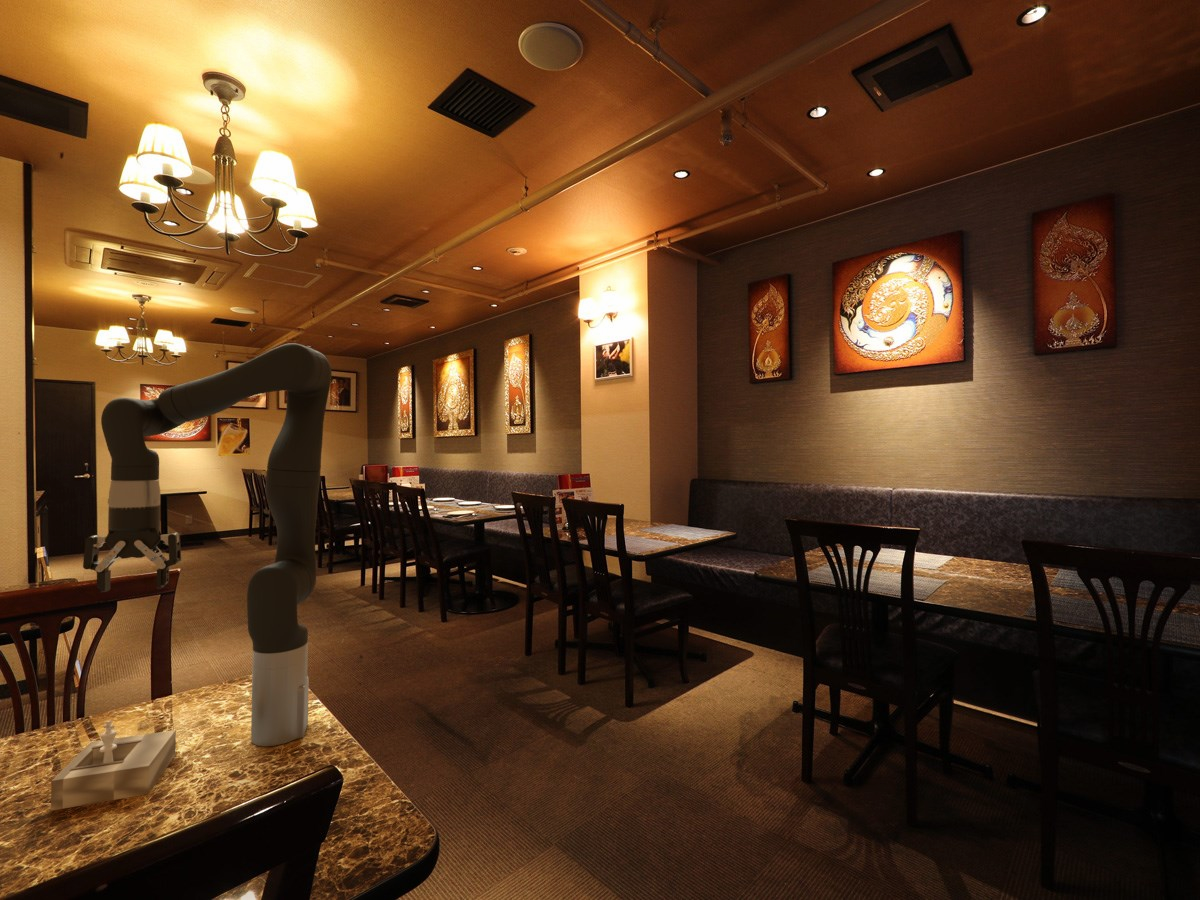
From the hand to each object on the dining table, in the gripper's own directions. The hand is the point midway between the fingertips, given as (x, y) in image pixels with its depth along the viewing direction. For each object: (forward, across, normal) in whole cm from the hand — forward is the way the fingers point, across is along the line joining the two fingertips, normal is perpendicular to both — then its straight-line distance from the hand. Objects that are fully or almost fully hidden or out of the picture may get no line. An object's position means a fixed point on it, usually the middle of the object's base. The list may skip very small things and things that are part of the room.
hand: (133, 589), depth 105 cm
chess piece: (+28, -3, +16) cm, 33 cm away
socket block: (+28, -4, +16) cm, 33 cm away
